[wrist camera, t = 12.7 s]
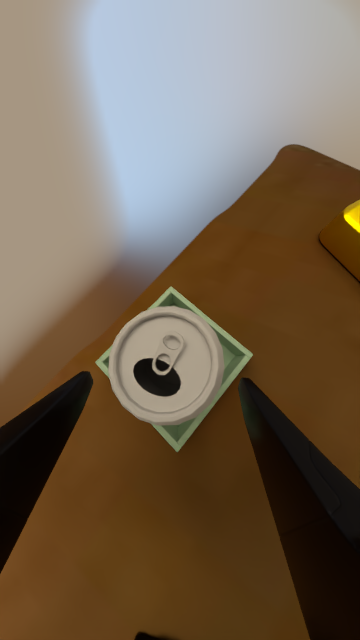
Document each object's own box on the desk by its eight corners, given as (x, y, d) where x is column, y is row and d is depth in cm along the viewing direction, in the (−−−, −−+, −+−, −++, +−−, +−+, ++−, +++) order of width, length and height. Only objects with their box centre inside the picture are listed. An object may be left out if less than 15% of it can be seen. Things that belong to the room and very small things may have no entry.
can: (136, 374, 20) (66, 396, 8) (162, 322, 21) (136, 278, 10) (189, 402, 19) (199, 473, 7) (212, 345, 20) (251, 326, 9)
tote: (178, 433, 18) (177, 453, 14) (111, 362, 20) (94, 362, 17) (240, 355, 20) (253, 354, 16) (173, 298, 23) (171, 286, 19)
